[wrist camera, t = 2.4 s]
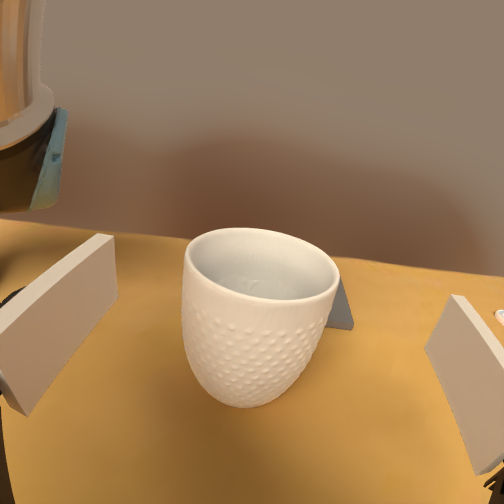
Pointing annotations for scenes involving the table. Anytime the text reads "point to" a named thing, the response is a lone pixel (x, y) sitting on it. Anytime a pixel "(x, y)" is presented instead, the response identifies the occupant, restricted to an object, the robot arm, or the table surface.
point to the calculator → (500, 316)
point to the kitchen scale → (340, 311)
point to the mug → (253, 311)
